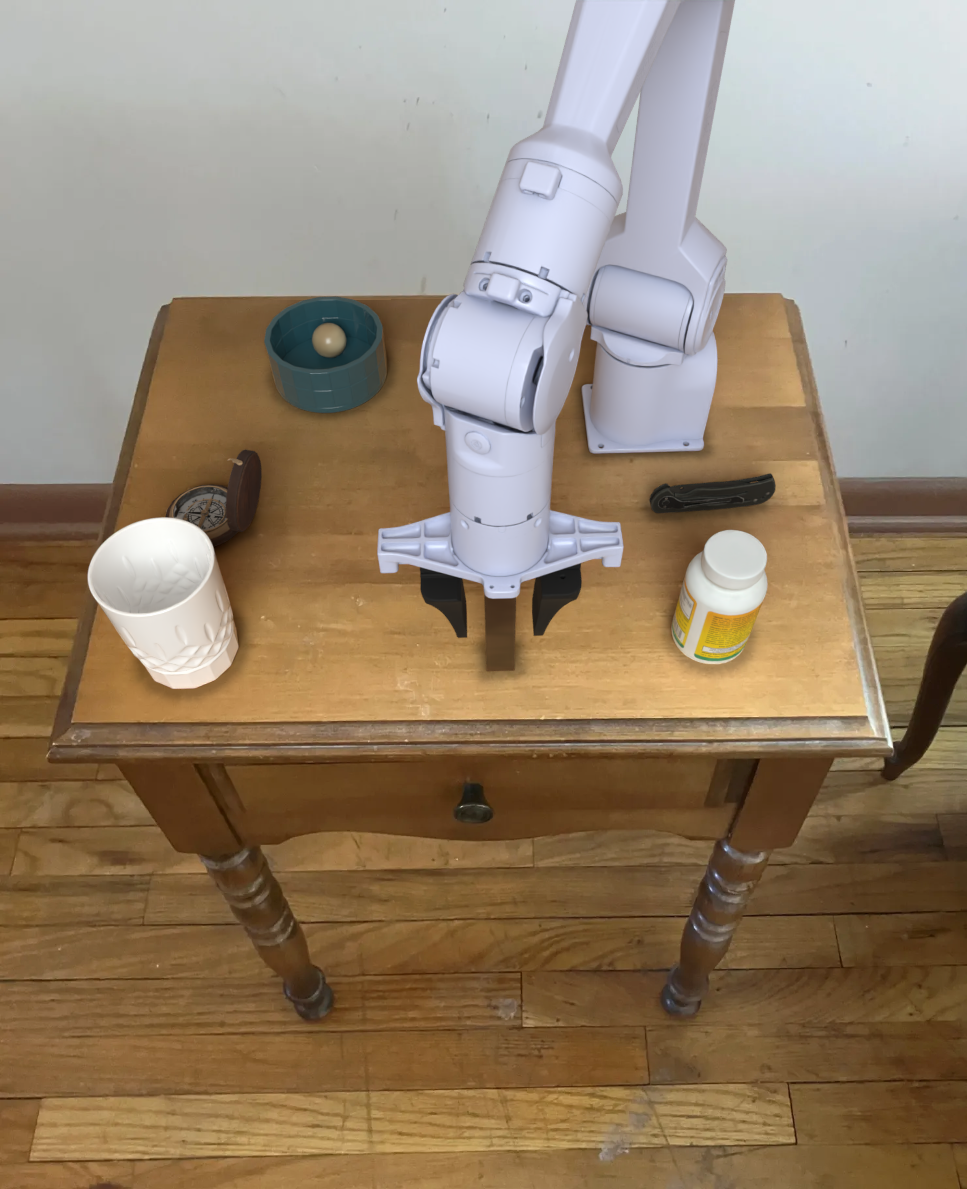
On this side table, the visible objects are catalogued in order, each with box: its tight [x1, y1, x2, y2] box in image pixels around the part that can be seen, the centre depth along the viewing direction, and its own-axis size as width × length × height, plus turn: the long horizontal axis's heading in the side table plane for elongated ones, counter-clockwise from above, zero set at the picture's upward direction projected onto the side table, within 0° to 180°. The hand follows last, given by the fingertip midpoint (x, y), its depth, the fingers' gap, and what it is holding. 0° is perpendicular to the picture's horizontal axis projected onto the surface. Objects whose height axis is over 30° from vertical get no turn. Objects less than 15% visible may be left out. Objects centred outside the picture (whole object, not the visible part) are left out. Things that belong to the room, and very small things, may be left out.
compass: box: [164, 449, 263, 548], centre depth 73 cm, size 8×8×7 cm
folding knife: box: [648, 472, 777, 514], centre depth 75 cm, size 10×1×3 cm, turn 96°
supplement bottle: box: [670, 529, 769, 665], centre depth 66 cm, size 5×5×10 cm
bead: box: [312, 323, 346, 358], centre depth 86 cm, size 3×3×3 cm
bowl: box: [263, 295, 388, 414], centre depth 84 cm, size 10×10×4 cm
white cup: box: [87, 516, 239, 690], centre depth 65 cm, size 8×8×10 cm
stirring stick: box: [483, 592, 517, 672], centre depth 65 cm, size 2×2×10 cm
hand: (499, 624), depth 65 cm, fingers open, 4 cm apart
